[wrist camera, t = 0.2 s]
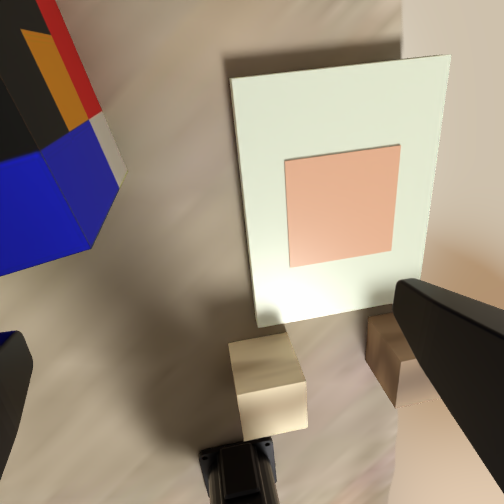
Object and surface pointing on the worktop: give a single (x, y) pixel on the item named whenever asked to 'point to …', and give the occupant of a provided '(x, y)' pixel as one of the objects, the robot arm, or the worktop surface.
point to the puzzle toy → (49, 142)
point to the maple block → (268, 386)
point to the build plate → (337, 181)
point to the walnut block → (396, 363)
